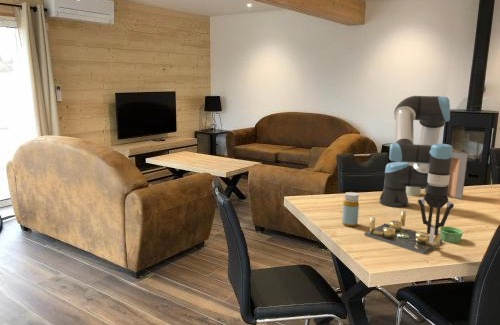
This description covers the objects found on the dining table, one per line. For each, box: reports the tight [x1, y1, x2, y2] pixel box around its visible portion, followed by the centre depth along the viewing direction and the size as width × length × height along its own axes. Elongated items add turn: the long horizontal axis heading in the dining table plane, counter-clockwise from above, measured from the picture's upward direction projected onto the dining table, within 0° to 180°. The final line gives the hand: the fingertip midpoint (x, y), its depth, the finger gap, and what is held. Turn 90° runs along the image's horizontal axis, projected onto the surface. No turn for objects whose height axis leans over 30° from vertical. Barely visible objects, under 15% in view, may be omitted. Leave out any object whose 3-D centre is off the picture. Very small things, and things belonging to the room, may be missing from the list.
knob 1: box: [368, 217, 395, 238], centre depth 169 cm, size 10×5×7 cm, turn 63°
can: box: [406, 186, 422, 197], centre depth 240 cm, size 9×9×12 cm
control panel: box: [364, 223, 443, 255], centre depth 169 cm, size 26×18×2 cm
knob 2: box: [389, 210, 407, 231], centre depth 177 cm, size 10×5×7 cm, turn 133°
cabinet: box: [424, 148, 469, 200], centre depth 238 cm, size 21×10×28 cm, turn 47°
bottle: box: [341, 191, 360, 228], centre depth 184 cm, size 7×7×15 cm
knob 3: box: [415, 230, 441, 249], centre depth 160 cm, size 11×5×7 cm, turn 28°
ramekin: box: [439, 226, 464, 244], centre depth 169 cm, size 9×9×4 cm
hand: (431, 241), depth 156 cm, fingers closed
